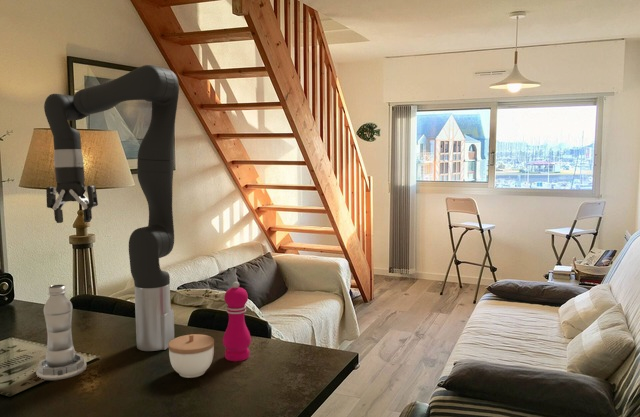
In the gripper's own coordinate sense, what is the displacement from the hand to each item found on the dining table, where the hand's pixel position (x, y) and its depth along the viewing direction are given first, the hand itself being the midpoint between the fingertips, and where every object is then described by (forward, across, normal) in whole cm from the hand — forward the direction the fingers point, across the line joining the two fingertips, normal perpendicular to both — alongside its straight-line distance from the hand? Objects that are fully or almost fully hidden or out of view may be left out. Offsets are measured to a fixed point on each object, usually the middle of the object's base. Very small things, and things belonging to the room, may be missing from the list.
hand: (73, 222), depth 152 cm
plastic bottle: (+33, +10, -24) cm, 42 cm away
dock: (+34, +10, -24) cm, 43 cm away
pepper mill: (+36, +50, -10) cm, 62 cm away
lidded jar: (+35, +42, -21) cm, 59 cm away
